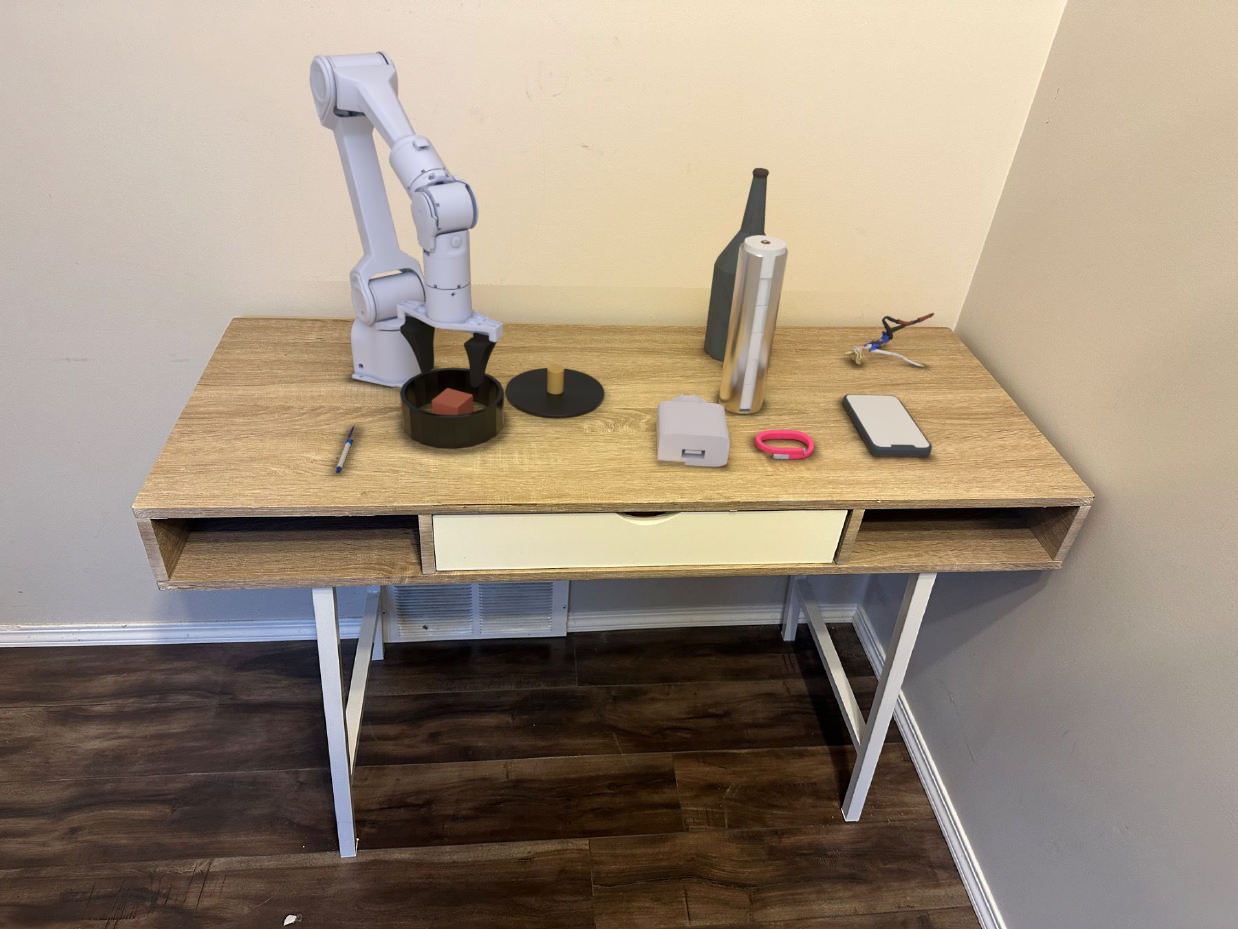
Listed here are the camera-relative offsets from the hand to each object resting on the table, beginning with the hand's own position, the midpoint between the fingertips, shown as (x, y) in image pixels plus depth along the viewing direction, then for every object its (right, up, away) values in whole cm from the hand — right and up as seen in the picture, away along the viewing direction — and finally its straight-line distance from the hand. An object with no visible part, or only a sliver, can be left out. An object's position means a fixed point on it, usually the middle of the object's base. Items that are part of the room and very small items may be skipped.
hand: (452, 377), depth 120 cm
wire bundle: (+66, +6, +30) cm, 73 cm away
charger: (+32, -8, +6) cm, 33 cm away
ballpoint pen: (-13, -10, -2) cm, 17 cm away
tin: (-1, -6, +4) cm, 7 cm away
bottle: (+41, +6, +28) cm, 50 cm away
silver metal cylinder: (+40, -3, +14) cm, 43 cm away
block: (-1, -6, +4) cm, 7 cm away
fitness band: (+45, -9, +5) cm, 46 cm away
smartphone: (+61, -7, +11) cm, 62 cm away
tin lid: (+13, -1, +12) cm, 18 cm away
